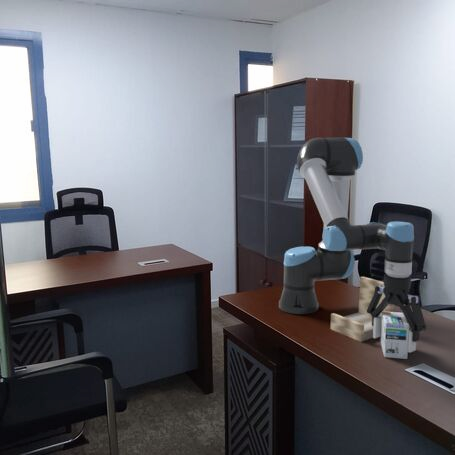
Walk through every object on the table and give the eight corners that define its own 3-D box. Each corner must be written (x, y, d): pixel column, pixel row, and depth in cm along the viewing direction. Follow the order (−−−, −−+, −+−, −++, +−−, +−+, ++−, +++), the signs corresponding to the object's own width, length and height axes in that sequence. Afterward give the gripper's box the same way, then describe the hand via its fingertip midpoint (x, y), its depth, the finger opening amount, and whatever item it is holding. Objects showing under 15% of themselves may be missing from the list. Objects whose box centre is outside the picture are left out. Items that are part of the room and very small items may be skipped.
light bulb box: (407, 359, 134) (410, 324, 132) (383, 357, 135) (385, 323, 133) (401, 344, 144) (403, 311, 142) (379, 343, 145) (381, 310, 144)
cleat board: (330, 329, 157) (332, 283, 154) (361, 319, 165) (362, 276, 163) (360, 342, 146) (363, 293, 143) (391, 330, 155) (394, 285, 152)
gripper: (356, 267, 143) (354, 333, 147) (427, 286, 124) (422, 361, 127) (372, 264, 147) (369, 328, 151) (443, 281, 128) (437, 354, 131)
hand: (393, 343), depth 139 cm, fingers closed on light bulb box, 12 cm apart
